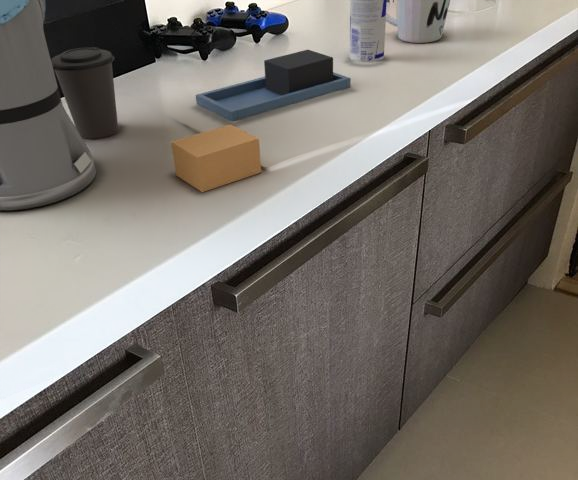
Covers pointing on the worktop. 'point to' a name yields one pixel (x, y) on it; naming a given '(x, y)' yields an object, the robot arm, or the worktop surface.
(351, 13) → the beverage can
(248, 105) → the tray
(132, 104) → the worktop surface
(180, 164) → the tan block
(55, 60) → the coffee cup
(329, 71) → the charcoal pad
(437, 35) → the mug
